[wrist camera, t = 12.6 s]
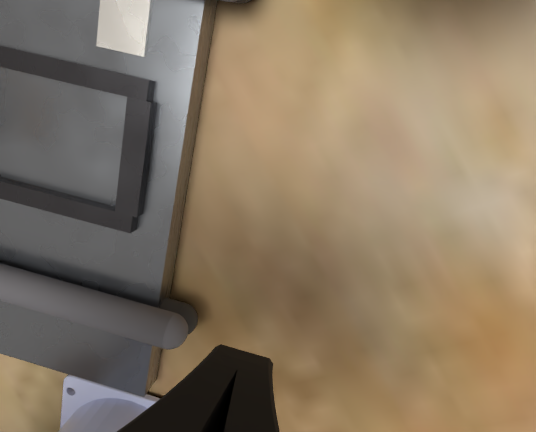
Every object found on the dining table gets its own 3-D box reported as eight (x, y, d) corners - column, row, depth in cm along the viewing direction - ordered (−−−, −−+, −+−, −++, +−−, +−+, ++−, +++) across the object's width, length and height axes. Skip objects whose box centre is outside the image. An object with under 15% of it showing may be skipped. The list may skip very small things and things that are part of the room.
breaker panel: (156, 377, 21) (138, 405, 19) (-104, 299, 23) (-146, 318, 21) (242, -155, 15) (228, -197, 13) (-139, -221, 16) (-207, -268, 14)
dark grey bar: (199, 328, 20) (176, 366, 17) (-137, 233, 22) (-209, 252, 19) (205, 296, 20) (183, 329, 17) (-140, 200, 21) (-215, 215, 18)
